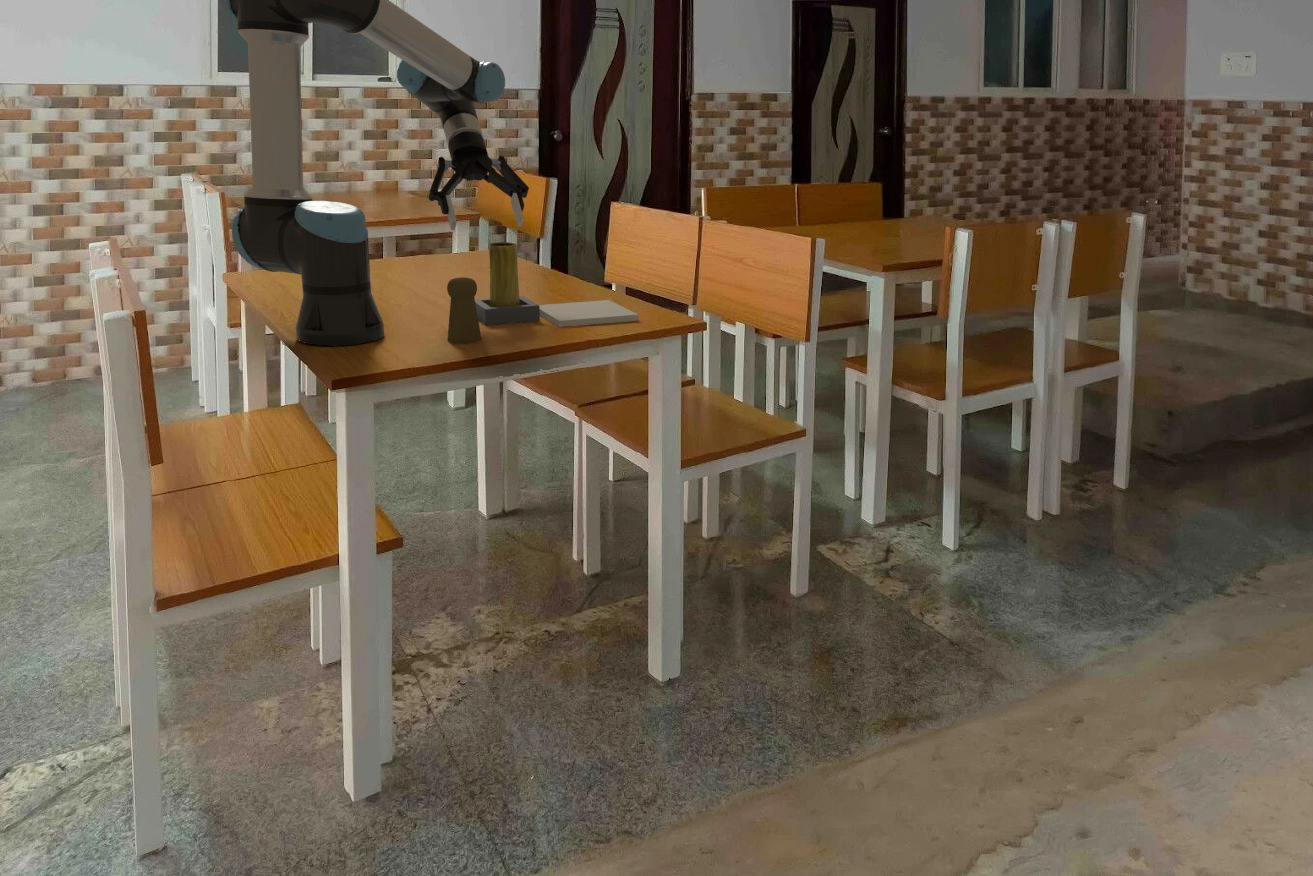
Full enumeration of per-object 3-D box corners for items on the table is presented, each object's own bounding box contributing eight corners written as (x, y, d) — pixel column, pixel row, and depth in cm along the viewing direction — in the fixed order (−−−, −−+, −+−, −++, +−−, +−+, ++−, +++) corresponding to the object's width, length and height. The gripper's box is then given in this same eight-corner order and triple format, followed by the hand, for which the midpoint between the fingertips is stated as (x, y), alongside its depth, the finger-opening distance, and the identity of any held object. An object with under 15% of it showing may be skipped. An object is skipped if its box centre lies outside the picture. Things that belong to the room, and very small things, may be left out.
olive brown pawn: (466, 334, 201) (463, 274, 198) (488, 339, 198) (486, 277, 194) (440, 340, 197) (436, 278, 193) (463, 345, 193) (460, 282, 190)
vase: (483, 319, 214) (480, 245, 210) (499, 313, 219) (496, 241, 215) (511, 322, 212) (509, 247, 207) (526, 316, 217) (524, 242, 213)
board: (559, 326, 208) (559, 320, 207) (534, 311, 222) (533, 305, 221) (638, 320, 214) (638, 314, 213) (608, 305, 228) (608, 299, 227)
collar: (485, 325, 209) (485, 309, 208) (472, 314, 218) (471, 299, 217) (539, 320, 213) (539, 305, 212) (523, 310, 222) (523, 295, 221)
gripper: (520, 153, 236) (544, 233, 228) (403, 155, 227) (422, 238, 218) (527, 128, 230) (551, 209, 222) (406, 129, 221) (427, 214, 212)
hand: (487, 224), depth 220 cm, fingers open, 13 cm apart
